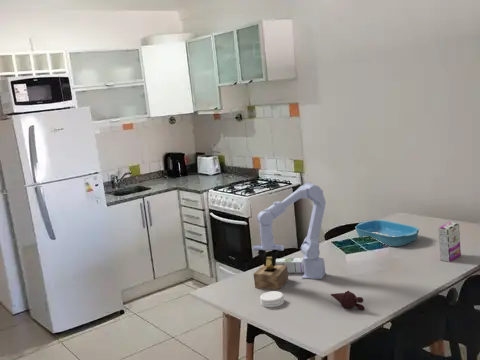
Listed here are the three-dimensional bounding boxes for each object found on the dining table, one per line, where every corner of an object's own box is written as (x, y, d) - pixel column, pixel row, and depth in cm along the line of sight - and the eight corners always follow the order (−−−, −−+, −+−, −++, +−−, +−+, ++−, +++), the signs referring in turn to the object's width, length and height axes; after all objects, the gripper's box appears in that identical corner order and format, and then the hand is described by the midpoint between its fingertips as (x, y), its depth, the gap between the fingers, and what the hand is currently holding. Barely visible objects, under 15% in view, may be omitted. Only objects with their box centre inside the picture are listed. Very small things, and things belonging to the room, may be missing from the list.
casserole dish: (428, 240, 276) (427, 227, 274) (399, 251, 264) (399, 238, 263) (375, 229, 306) (374, 217, 305) (348, 238, 295) (347, 226, 294)
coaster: (267, 310, 213) (266, 302, 212) (256, 302, 222) (256, 294, 222) (288, 303, 217) (287, 296, 216) (277, 296, 226) (276, 288, 225)
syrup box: (274, 273, 253) (303, 273, 249) (273, 262, 252) (302, 261, 248) (276, 269, 259) (305, 268, 254) (275, 257, 257) (304, 257, 253)
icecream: (325, 292, 207) (358, 303, 197) (334, 282, 212) (367, 292, 202) (327, 306, 210) (360, 317, 200) (336, 295, 215) (369, 306, 205)
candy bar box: (451, 253, 252) (449, 221, 249) (461, 255, 248) (459, 222, 245) (439, 260, 245) (437, 227, 242) (449, 262, 241) (448, 228, 238)
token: (275, 267, 239) (274, 257, 238) (269, 270, 237) (268, 260, 236) (270, 266, 242) (269, 256, 241) (264, 268, 240) (263, 258, 239)
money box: (288, 279, 243) (286, 265, 242) (279, 289, 233) (277, 275, 232) (264, 278, 248) (263, 264, 247) (255, 287, 238) (253, 273, 237)
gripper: (284, 234, 238) (287, 262, 240) (254, 234, 243) (257, 262, 245) (280, 238, 232) (283, 267, 234) (249, 239, 236) (253, 267, 239)
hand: (269, 265), depth 239 cm, fingers closed on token, 4 cm apart
